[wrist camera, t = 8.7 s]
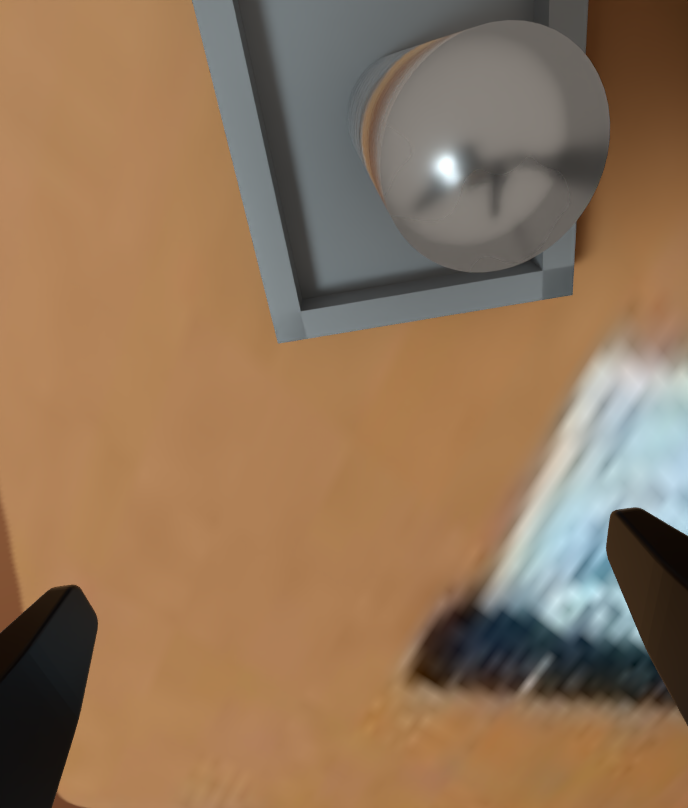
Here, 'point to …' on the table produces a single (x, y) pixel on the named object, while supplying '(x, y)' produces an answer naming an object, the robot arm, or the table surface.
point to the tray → (348, 160)
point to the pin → (483, 141)
